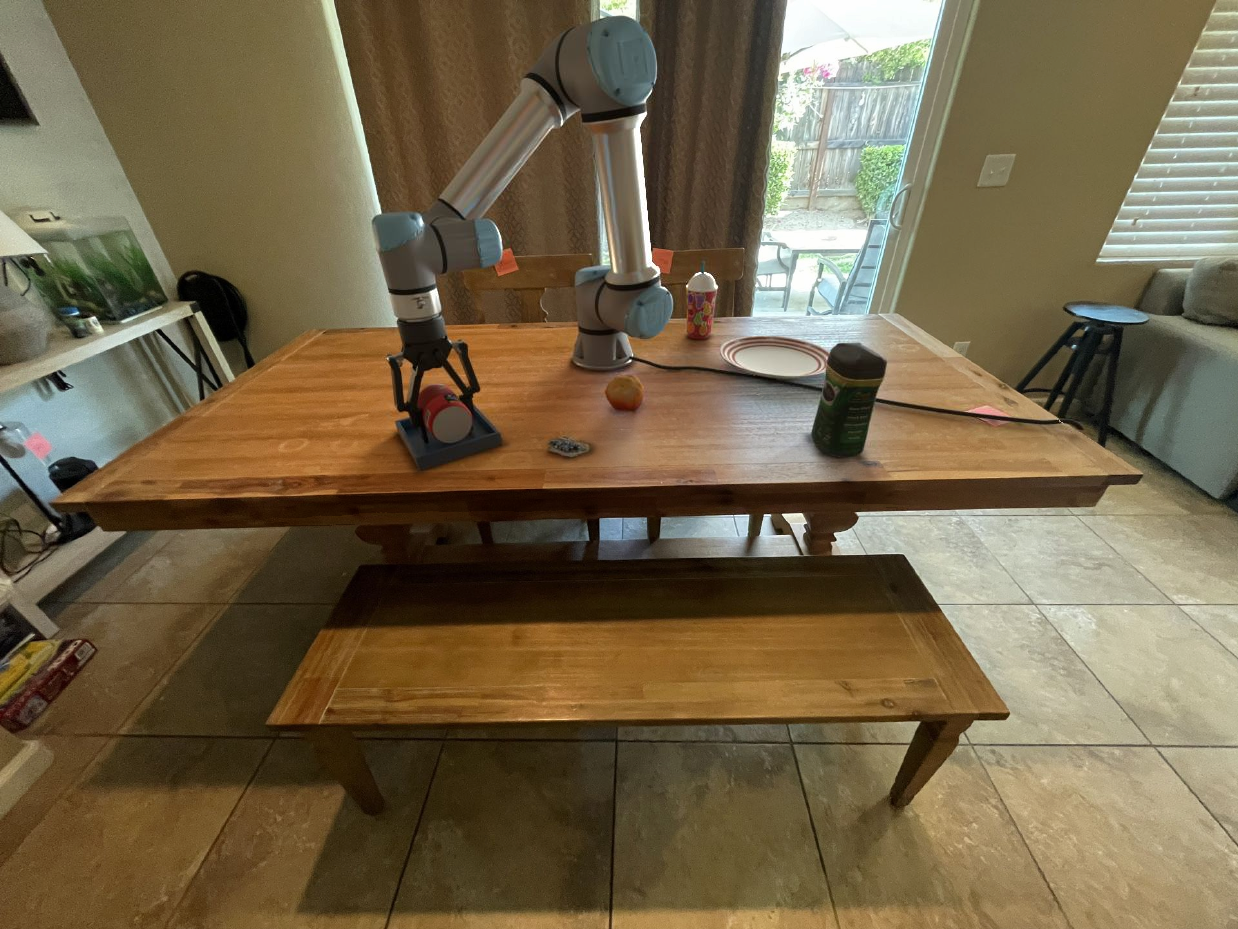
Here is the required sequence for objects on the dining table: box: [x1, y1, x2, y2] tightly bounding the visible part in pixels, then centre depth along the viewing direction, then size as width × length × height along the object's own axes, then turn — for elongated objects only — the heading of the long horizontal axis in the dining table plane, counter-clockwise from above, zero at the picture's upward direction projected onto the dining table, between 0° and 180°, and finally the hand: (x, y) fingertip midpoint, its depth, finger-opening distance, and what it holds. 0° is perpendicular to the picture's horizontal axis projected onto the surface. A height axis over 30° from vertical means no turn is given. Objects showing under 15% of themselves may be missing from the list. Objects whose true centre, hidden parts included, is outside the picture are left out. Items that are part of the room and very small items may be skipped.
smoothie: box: [685, 261, 718, 340], centre depth 138 cm, size 8×8×20 cm
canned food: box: [417, 383, 472, 443], centre depth 93 cm, size 8×8×11 cm
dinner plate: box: [719, 335, 830, 380], centre depth 123 cm, size 27×27×3 cm
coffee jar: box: [810, 341, 888, 458], centre depth 87 cm, size 10×8×19 cm
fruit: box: [604, 373, 645, 412], centre depth 105 cm, size 8×8×8 cm
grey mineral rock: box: [545, 436, 591, 458], centre depth 93 cm, size 7×8×2 cm
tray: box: [394, 403, 503, 472], centre depth 96 cm, size 16×15×3 cm
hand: (447, 433), depth 97 cm, fingers closed on canned food, 8 cm apart
